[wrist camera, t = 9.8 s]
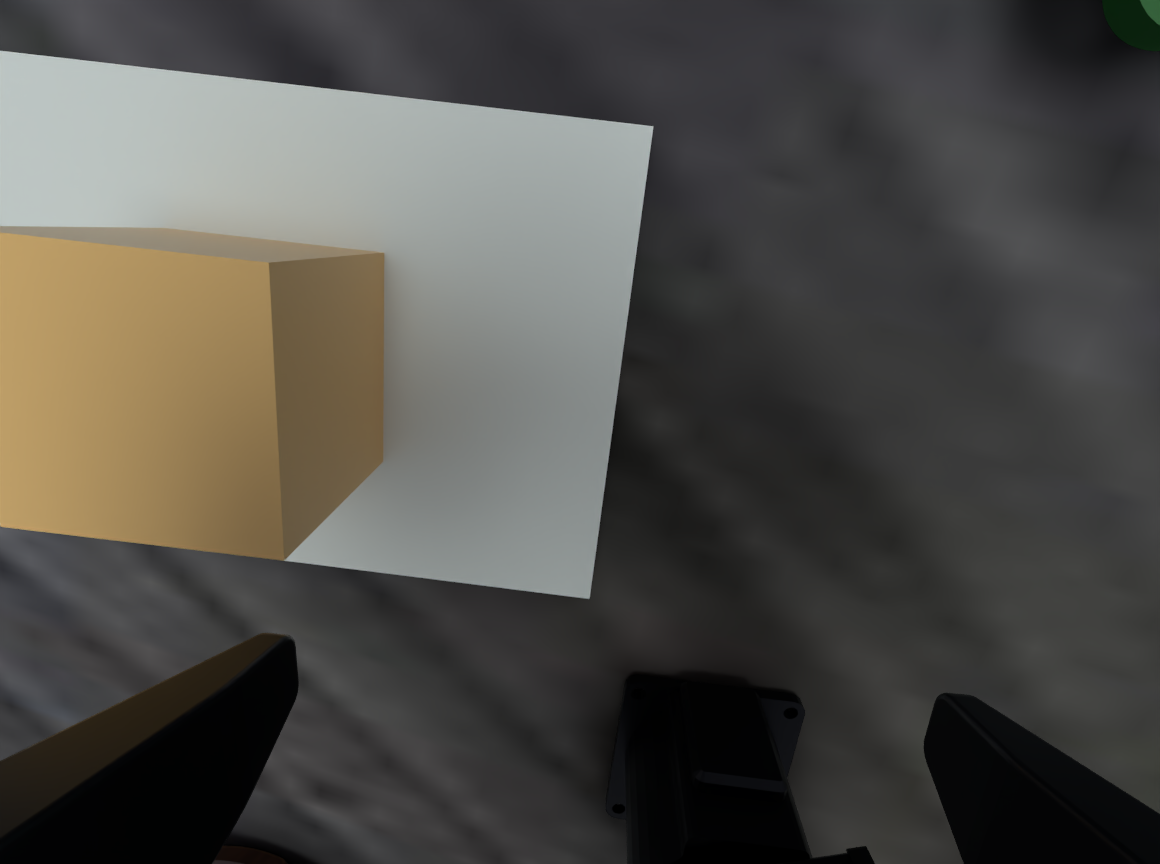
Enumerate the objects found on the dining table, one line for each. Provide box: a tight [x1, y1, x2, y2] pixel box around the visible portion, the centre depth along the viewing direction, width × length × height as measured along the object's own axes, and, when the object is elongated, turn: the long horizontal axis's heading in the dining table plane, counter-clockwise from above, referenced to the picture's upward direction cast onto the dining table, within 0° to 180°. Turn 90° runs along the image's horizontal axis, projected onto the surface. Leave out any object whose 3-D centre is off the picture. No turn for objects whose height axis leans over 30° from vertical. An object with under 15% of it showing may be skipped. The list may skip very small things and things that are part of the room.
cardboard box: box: [0, 226, 384, 561], centre depth 15 cm, size 6×6×6 cm
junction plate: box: [0, 51, 653, 599], centre depth 17 cm, size 14×20×6 cm
